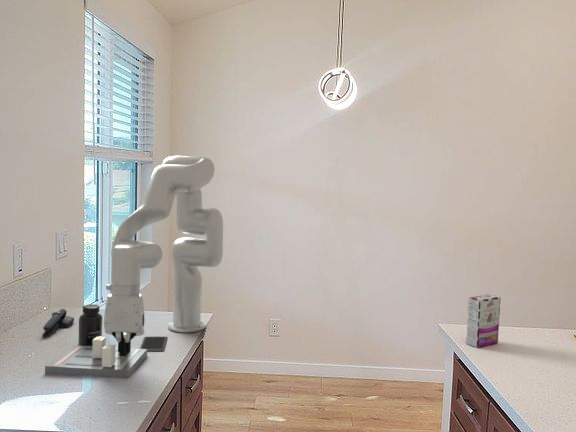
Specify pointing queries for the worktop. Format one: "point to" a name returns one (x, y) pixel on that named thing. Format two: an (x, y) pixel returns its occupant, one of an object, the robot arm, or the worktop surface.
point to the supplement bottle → (89, 325)
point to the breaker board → (94, 363)
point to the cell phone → (154, 344)
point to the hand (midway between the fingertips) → (124, 354)
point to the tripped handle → (98, 346)
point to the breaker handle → (108, 355)
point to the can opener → (57, 322)
